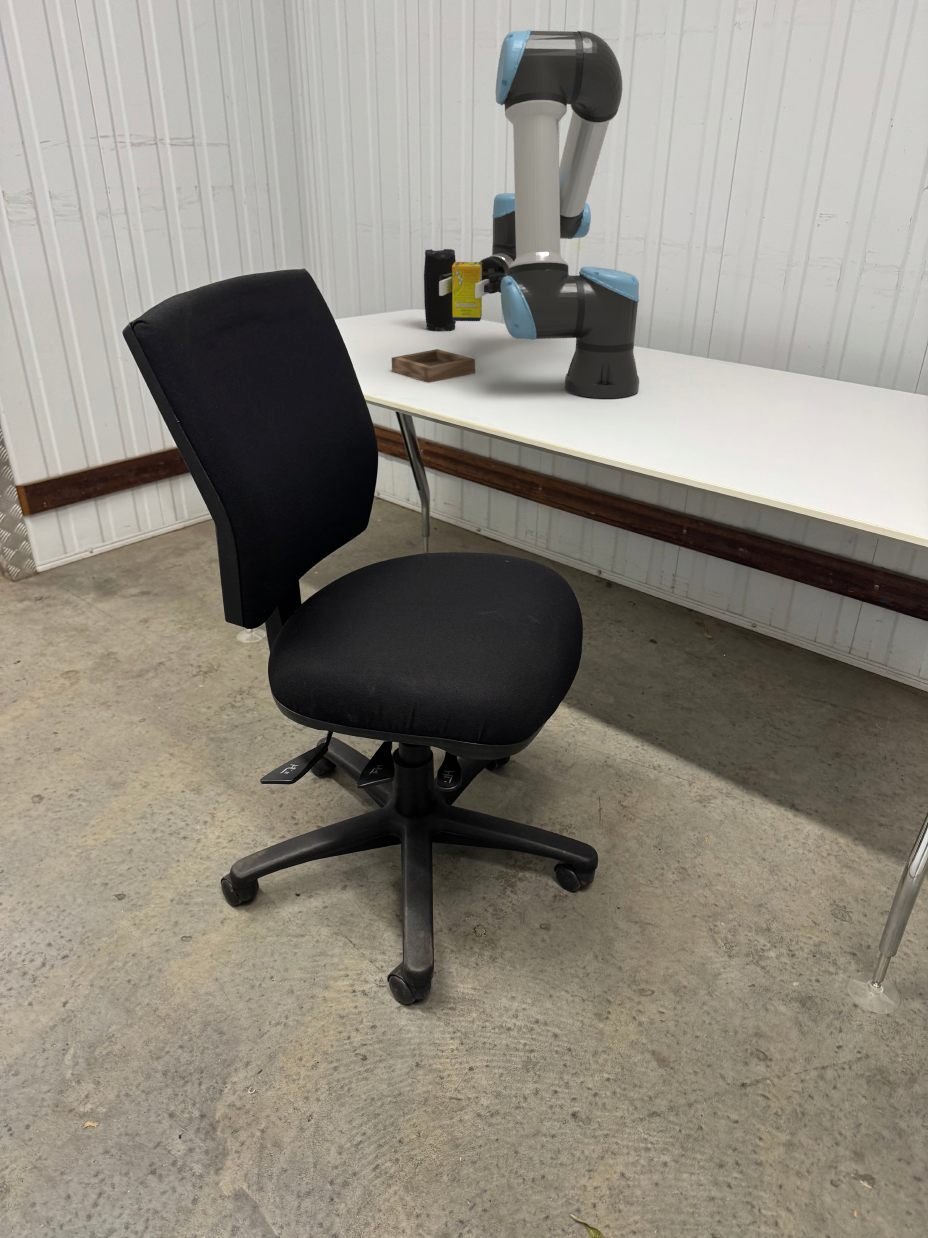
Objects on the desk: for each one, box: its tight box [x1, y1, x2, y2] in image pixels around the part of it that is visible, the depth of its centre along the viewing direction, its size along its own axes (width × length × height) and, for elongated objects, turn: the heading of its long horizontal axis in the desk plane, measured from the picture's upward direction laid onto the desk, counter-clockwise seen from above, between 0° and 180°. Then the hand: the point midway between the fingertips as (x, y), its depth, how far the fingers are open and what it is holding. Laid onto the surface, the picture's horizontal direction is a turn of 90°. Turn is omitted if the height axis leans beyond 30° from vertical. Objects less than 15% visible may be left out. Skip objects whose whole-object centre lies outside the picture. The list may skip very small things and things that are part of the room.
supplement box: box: [452, 261, 483, 322], centre depth 186 cm, size 6×6×11 cm
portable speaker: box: [423, 248, 457, 332], centre depth 234 cm, size 9×9×20 cm
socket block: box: [391, 348, 476, 383], centre depth 196 cm, size 13×13×3 cm
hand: (458, 289), depth 181 cm, fingers closed on supplement box, 7 cm apart
